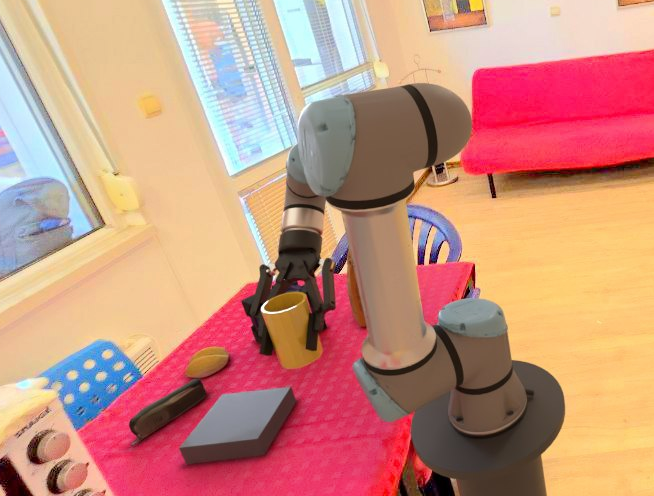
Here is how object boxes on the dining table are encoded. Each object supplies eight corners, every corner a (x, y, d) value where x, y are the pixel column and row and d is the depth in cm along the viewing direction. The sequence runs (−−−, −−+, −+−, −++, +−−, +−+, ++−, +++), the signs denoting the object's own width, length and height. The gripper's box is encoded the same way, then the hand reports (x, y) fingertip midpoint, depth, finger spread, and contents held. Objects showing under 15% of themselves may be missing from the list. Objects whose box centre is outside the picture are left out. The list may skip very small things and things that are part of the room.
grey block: (296, 401, 109) (291, 386, 107) (264, 455, 96) (257, 438, 94) (228, 409, 108) (221, 394, 107) (186, 464, 95) (178, 448, 94)
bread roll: (184, 384, 117) (177, 370, 116) (194, 361, 125) (188, 348, 124) (225, 373, 120) (220, 358, 118) (233, 351, 128) (228, 337, 126)
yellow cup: (328, 342, 103) (312, 289, 98) (313, 366, 96) (295, 311, 91) (290, 346, 102) (272, 293, 98) (273, 371, 96) (252, 315, 91)
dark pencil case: (194, 375, 112) (115, 424, 99) (203, 377, 111) (125, 427, 98) (201, 394, 114) (125, 444, 101) (211, 396, 113) (134, 448, 100)
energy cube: (282, 354, 125) (267, 312, 120) (255, 341, 131) (240, 300, 127) (327, 328, 134) (314, 287, 130) (300, 317, 140) (287, 278, 136)
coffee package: (389, 297, 146) (372, 226, 138) (396, 318, 136) (378, 242, 127) (352, 308, 142) (332, 235, 134) (356, 331, 132) (334, 253, 124)
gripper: (360, 236, 107) (353, 349, 98) (260, 246, 107) (244, 361, 98) (345, 222, 101) (336, 342, 91) (238, 233, 100) (218, 355, 91)
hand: (288, 352), depth 95 cm, fingers closed on yellow cup, 7 cm apart
